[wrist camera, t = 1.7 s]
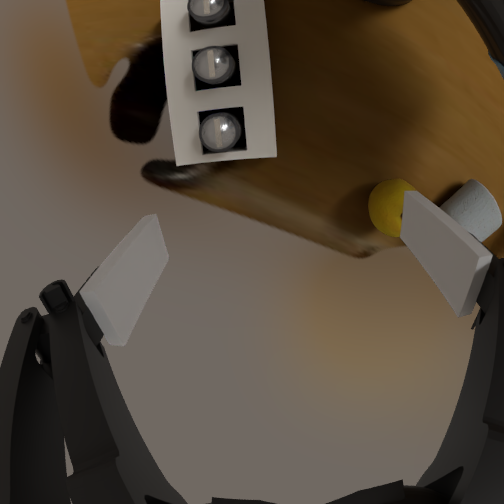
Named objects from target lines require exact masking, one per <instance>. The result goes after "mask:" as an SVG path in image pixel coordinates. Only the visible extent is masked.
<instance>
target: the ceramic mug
mask: <svg viewBox="0 0 504 504" xmlns="http://www.w3.org/2000/svg"><path fill="white" fill-rule="evenodd" d="M440 209H441V210H443V211H444V212H445V213H446V214H447V215H449V216H450V217H451V218H452V219H454V220H455V221H456V222H457V223H458V224H459V225H461V226H462V227H463V228H464V229H465V230H466V231H468V232H469V233H471V234H473V235H474V236H475V237H476V238H477V239H478V241H480V242H482V241H483V240H485V239H486V238H487V237H488V236H490V235H491V234H492V233H493V232H494V231H496V230H497V229H498V228H499V227H500V226H501V224H502V217H501V212H500V210H499V207H498V205H497V203H496V201H495V199H494V197H493V196H492V195H491V194H490V192H489V191H488V189H487V188H486V187H484V186H483V185H482V184H481V183H480V182H478V181H477V180H474V179H470V180H468V181H467V182H466V183H465V184H464V185H463V186H462V187H461V188H460V189H459V190H458V191H457V192H456V193H455V194H454V195H453V196H452V197H451V198H449V199H448V200H447V201H446V202H445V203H444V204H442V205H441V206H440Z"/></svg>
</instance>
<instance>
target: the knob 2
mask: <svg viewBox="0 0 504 504" xmlns="http://www.w3.org/2000/svg"><path fill="white" fill-rule="evenodd" d="M242 130H243V129H242V123H241V121H240V120H239V118H238V117H237V116H235V115H234V114H232V113H228V112H222V113H216V114H212V115H210V116H208V117H206V118H205V119H204V120H203V122H202V123H201V125H200V128H199V138H200V141H201V143H202V144H203V145H204V146H205V147H206V148H207V149H209V150H211V151H214V152H224V151H227V150H229V149H231V148H232V147H233V146H234V145H235V144H236V142H237V141H238V140H239V138H240V137H241V135H242Z"/></svg>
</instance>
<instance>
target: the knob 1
mask: <svg viewBox="0 0 504 504" xmlns="http://www.w3.org/2000/svg"><path fill="white" fill-rule="evenodd" d="M187 9H188V12H189V13H190V15H191V16H192V17H193V18H194V19H195V20H196V21H197V22H198V24H199V25H200V26H202V27H203V28H206V29H210V28H217V27H224V26H225V25H227V24H228V23H229V21H230V20H231V18H232V10H231V8H230V5H229V3H228V0H189V1H188V4H187Z"/></svg>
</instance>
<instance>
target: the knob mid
mask: <svg viewBox="0 0 504 504" xmlns="http://www.w3.org/2000/svg"><path fill="white" fill-rule="evenodd" d="M192 71H193V73H194V75H195V76H196V77H197V78H198V79H199V80H201V81H203V82H206V83H209V84H211V85H216V86H220V85H225V84H227V83H229V82H230V81H231V80H232V79H233V78H234V77H235V75H236V72H237V64H236V62H235V60H234V59H233V57H232V56H231V54H230V53H229V52H228V51H227V50H226V49H224V48H222V47H219V46H208V47H205V48H203V49H201V50H200V51H199V52H197V54H196V55H195V56H194V58H193V60H192Z"/></svg>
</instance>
